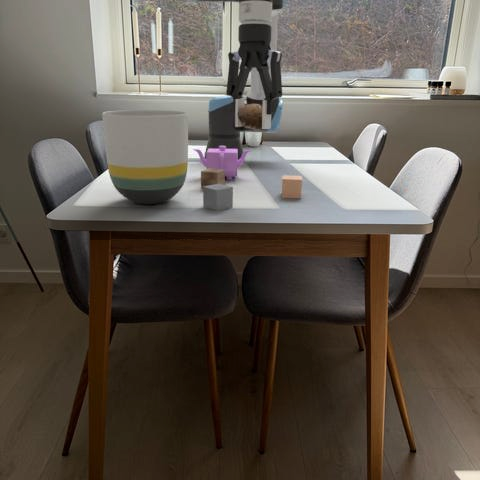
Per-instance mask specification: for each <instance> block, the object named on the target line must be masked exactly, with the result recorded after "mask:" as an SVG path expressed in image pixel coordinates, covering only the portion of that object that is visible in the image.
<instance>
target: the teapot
mask: <svg viewBox="0 0 480 480" xmlns="http://www.w3.org/2000/svg"><path fill="white" fill-rule="evenodd" d="M192 150H193V151H195V152H196V153H197V154H198V156H199V159H200V163H201V164H202V166H203V167H204V168H205V169H208V168H213V169H223V170H225V177H226V179H225V180H227V181H233V180H234V178H233V177H235V178H236V177H238V169H239V168H240V167H242V166H243V165H244V163H245V160H246V156H247V154H249V152H252V149H245V150H243V154H242V156H241V158H240V159H239V160H238V149H226V146H219V149H208V150H207V152H206V151H205V152H206V159H205V158H204V154H203V151H202V150H200V149H197V148H195V149H194V148H193V149H192Z"/></svg>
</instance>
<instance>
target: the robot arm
mask: <svg viewBox="0 0 480 480" xmlns="http://www.w3.org/2000/svg"><path fill="white" fill-rule="evenodd" d="M185 1H186V2H193V3H199V2H200V3H205V2H207V3H208V2H209V3H211V2H212V3H213V2H218V3H219V2H226V3H238V22H239V23H241V24H239V25H238V35H237V39H238V42H239V47H238V50H237V51H234V52H233V51H232V52H231V51H230V52H228V54H227V56H228V62H229V63H228V73H227V85H226V95H224V96H222V95H221V96H217V97H212V98H210V100H209V101H208V110H207V112H208V141H207V144H206V148H205V152H204V154H203V156H204V158H205V159H206V152H207V150H208V149H219V146H226V149H238V160H239V159H240V158H241V156H242V154H243V152H244V148H243V144H242V141H241V133H265V134H267V133H276V132H277V131H278V130H279V127H280V123H281V120H282V119H281V118H282V113H283V104H284V101H283V99H281V98H282V97H283V84H282V71H281V70H282V68H281V61H282V56H283V53H282V51H277V45H278V21H279V20H278V16H279V13H281V12H282V10H283V9H284V7H283V6H284V4H286V3H288V0H185ZM240 60H241V61H240ZM249 75H250V89H249V91H248V92H247V93H246V98H244V96H243V94H244V92H245V88H246V86H247V82H248V79H249ZM248 104H259V105H261V106H262V107H263V108H262V129H260V130H254V129H250V128H246V127H244V126H243V125H242V123H241V122H240V120H239V119H238V111H239V110H240V109H241V108H242V107H244V106H246V105H248Z"/></svg>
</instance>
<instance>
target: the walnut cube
mask: <svg viewBox="0 0 480 480" xmlns="http://www.w3.org/2000/svg"><path fill="white" fill-rule="evenodd" d="M200 175H201V176H200V186H201V187H200V189H201V190H203V186H209V185H214V184H223V185H226V179H225V177H226V176H225V170H223V169H213V168H208V169H206V168H205V169H203V170H201V171H200Z"/></svg>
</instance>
